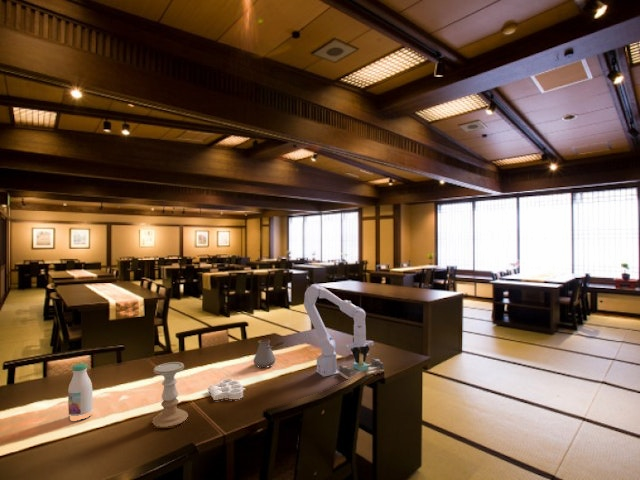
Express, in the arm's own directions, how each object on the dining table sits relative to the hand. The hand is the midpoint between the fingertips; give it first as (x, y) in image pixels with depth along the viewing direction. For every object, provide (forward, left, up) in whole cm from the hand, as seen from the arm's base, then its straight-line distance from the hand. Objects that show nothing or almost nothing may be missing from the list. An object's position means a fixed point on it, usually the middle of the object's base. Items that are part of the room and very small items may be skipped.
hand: (360, 361), depth 177 cm
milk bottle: (-116, +16, -6) cm, 118 cm away
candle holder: (-86, -4, -6) cm, 87 cm away
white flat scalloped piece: (-62, +10, -6) cm, 63 cm away
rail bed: (+1, 0, -6) cm, 6 cm away
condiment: (+16, +25, -6) cm, 30 cm away
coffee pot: (-35, +30, -6) cm, 47 cm away
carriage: (0, 0, -3) cm, 3 cm away
